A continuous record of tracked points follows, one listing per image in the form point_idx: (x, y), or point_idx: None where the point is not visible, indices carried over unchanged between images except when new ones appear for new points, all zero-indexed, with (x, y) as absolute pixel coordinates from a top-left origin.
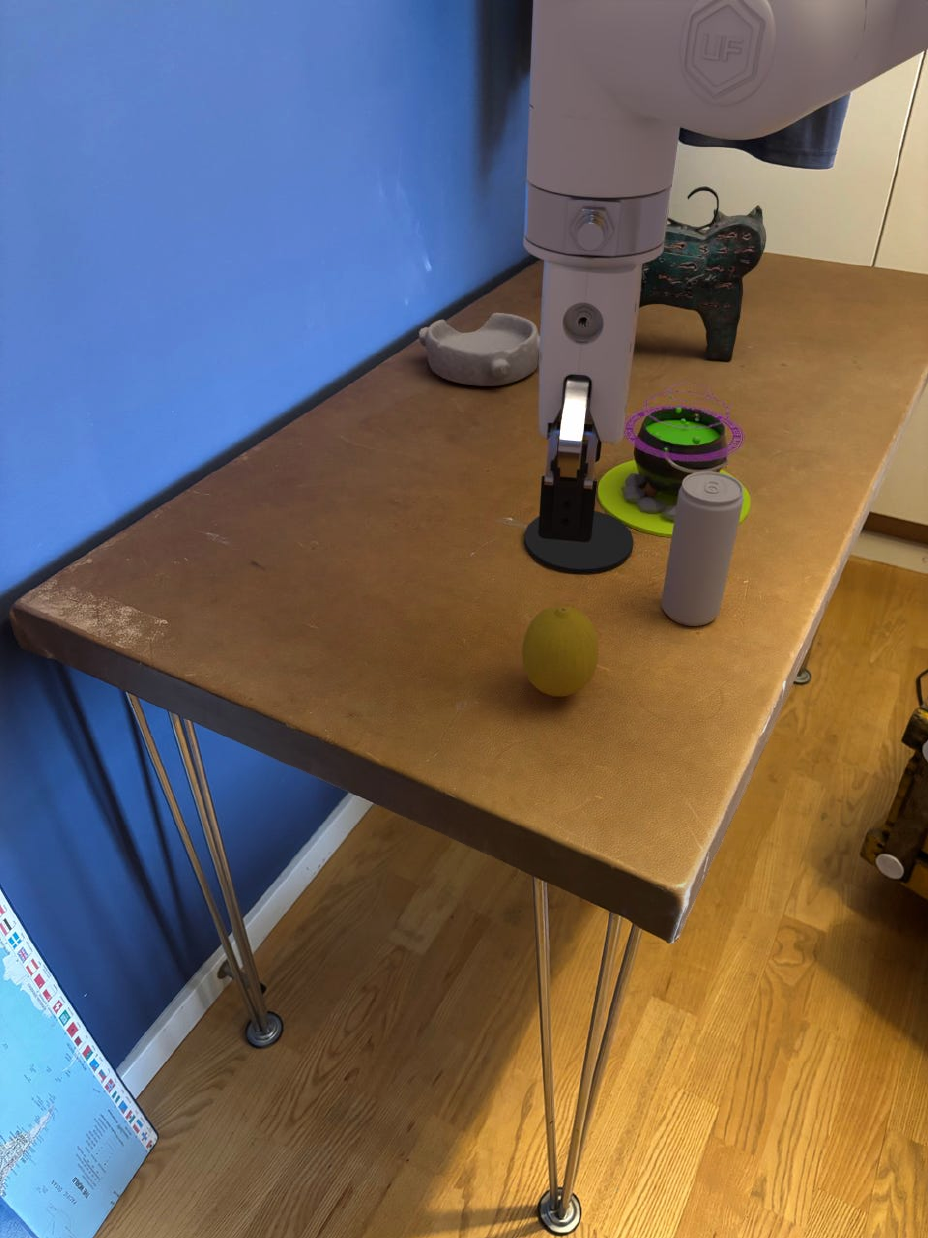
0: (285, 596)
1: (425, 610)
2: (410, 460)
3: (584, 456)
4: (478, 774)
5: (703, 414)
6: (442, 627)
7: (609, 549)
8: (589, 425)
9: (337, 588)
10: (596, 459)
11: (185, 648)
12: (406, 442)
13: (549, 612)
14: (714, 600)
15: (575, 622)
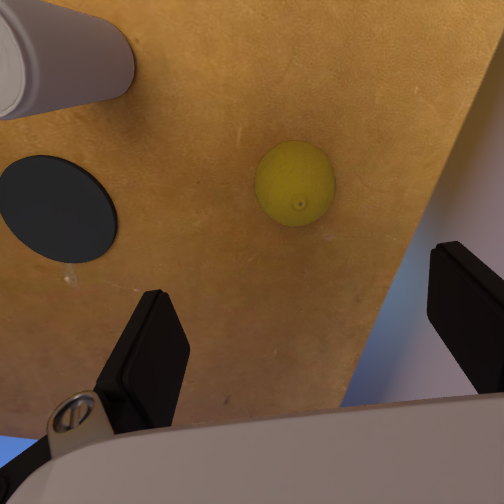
0: (251, 376)
1: (226, 297)
2: (42, 369)
3: (173, 316)
4: (403, 199)
5: None
6: (241, 279)
7: (56, 179)
8: (149, 365)
9: (228, 354)
10: (166, 295)
11: (321, 399)
12: (20, 380)
13: (297, 215)
14: (100, 22)
15: (306, 184)
